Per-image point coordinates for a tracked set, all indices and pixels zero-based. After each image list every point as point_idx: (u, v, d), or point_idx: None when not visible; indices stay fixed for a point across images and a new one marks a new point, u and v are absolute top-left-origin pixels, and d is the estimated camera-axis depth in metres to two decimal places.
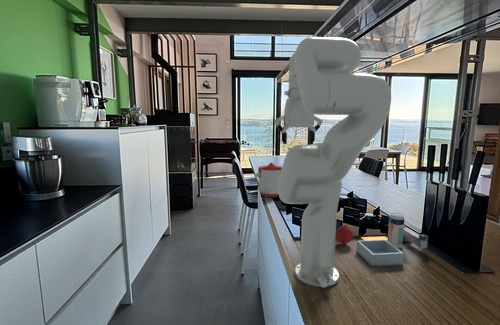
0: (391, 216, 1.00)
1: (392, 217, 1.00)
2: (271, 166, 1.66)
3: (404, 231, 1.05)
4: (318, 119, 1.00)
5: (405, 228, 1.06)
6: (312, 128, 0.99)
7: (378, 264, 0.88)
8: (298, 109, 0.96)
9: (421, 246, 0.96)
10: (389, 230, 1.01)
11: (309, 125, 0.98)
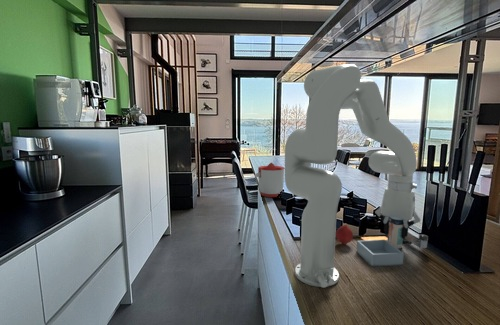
0: None
1: (392, 217, 1.00)
2: (271, 166, 1.66)
3: None
4: None
5: None
6: None
7: (378, 264, 0.88)
8: None
9: (421, 246, 0.96)
10: (389, 230, 1.01)
11: None
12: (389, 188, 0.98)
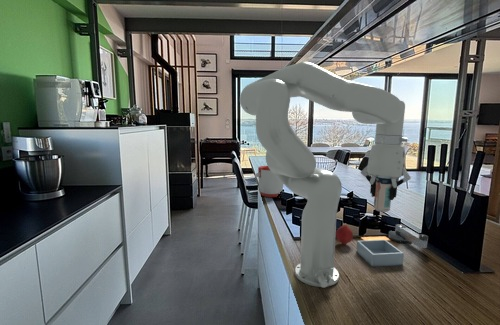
0: None
1: (379, 176, 0.89)
2: None
3: (404, 231, 1.05)
4: None
5: (405, 228, 1.06)
6: None
7: (378, 264, 0.88)
8: None
9: (421, 246, 0.96)
10: (376, 191, 0.90)
11: None
12: (376, 143, 0.88)
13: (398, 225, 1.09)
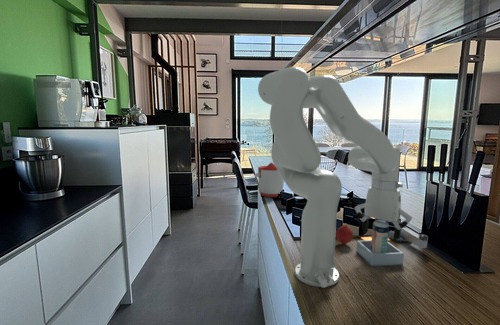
0: (375, 223, 0.92)
1: (376, 224, 0.91)
2: (271, 166, 1.66)
3: (404, 231, 1.05)
4: None
5: (405, 228, 1.06)
6: None
7: (378, 264, 0.88)
8: None
9: (421, 246, 0.96)
10: (372, 238, 0.93)
11: None
12: (373, 187, 0.89)
13: None
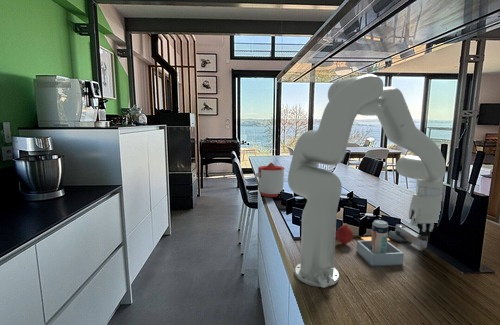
0: (374, 223, 0.92)
1: (375, 225, 0.91)
2: (271, 166, 1.66)
3: (404, 231, 1.05)
4: None
5: (405, 228, 1.06)
6: None
7: (378, 264, 0.88)
8: None
9: (421, 246, 0.96)
10: (372, 239, 0.93)
11: None
12: (426, 195, 0.95)
13: (398, 225, 1.09)
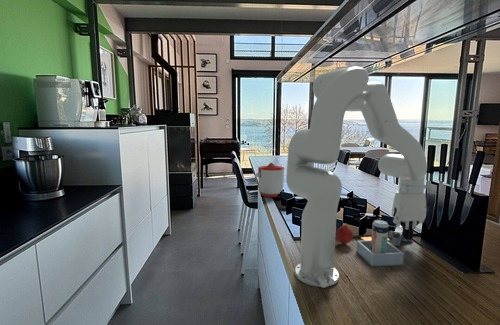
0: (374, 223, 0.92)
1: (375, 225, 0.91)
2: (271, 166, 1.66)
3: None
4: None
5: (400, 228, 1.06)
6: None
7: (378, 264, 0.88)
8: None
9: (392, 242, 0.99)
10: (372, 239, 0.93)
11: None
12: (408, 193, 0.95)
13: (399, 225, 1.09)
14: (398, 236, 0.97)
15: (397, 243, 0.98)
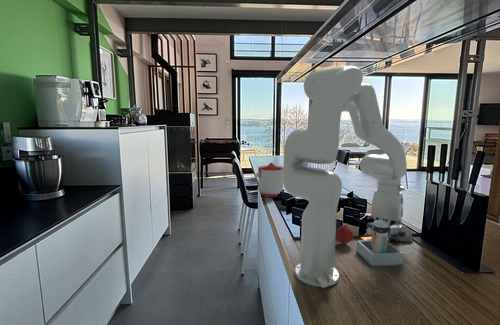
0: (374, 223, 0.92)
1: (375, 225, 0.91)
2: (271, 166, 1.66)
3: None
4: None
5: (395, 226, 1.08)
6: None
7: (378, 264, 0.88)
8: None
9: (368, 232, 1.09)
10: (372, 239, 0.93)
11: None
12: (378, 190, 1.02)
13: (401, 225, 1.09)
14: (369, 226, 1.07)
15: (370, 233, 1.07)
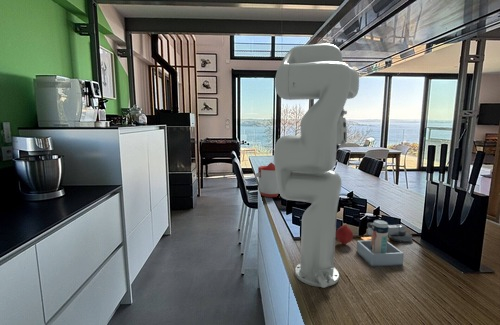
0: (374, 223, 0.92)
1: (375, 225, 0.91)
2: (271, 166, 1.66)
3: None
4: None
5: (395, 226, 1.08)
6: None
7: (378, 264, 0.88)
8: None
9: (368, 232, 1.09)
10: (372, 239, 0.93)
11: None
12: None
13: (401, 225, 1.09)
14: (369, 226, 1.07)
15: (370, 233, 1.07)
